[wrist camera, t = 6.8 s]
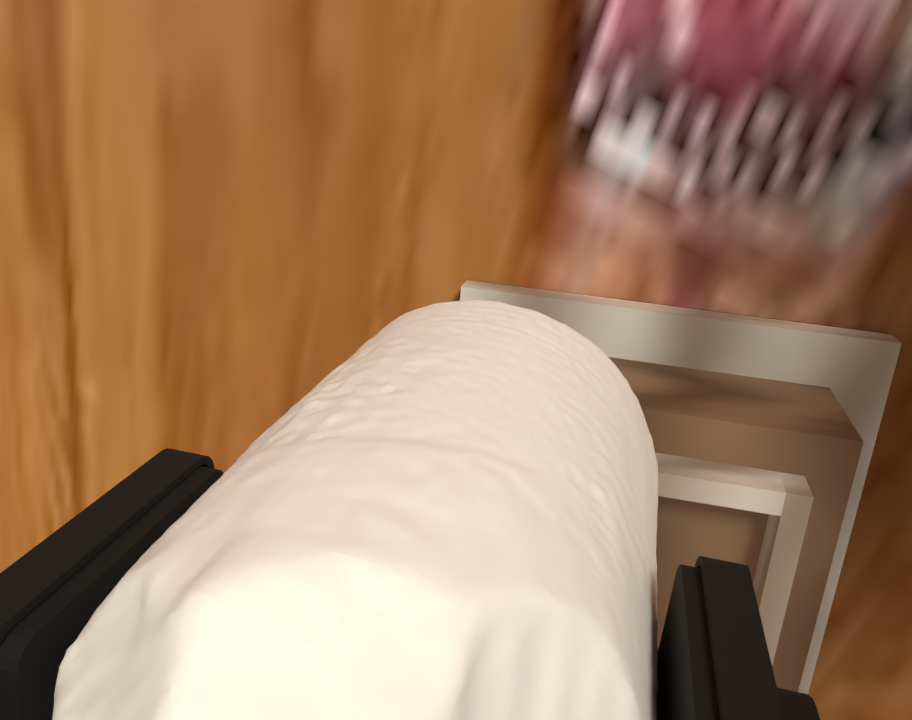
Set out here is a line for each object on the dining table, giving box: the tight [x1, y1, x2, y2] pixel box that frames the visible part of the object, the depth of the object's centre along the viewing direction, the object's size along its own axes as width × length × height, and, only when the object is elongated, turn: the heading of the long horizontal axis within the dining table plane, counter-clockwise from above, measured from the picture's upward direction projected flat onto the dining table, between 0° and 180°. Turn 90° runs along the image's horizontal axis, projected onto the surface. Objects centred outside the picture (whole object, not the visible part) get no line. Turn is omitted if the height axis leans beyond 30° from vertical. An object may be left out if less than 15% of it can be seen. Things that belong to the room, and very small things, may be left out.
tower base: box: [460, 280, 902, 694], centre depth 31 cm, size 16×16×8 cm
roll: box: [52, 300, 659, 720], centre depth 9 cm, size 6×12×6 cm
